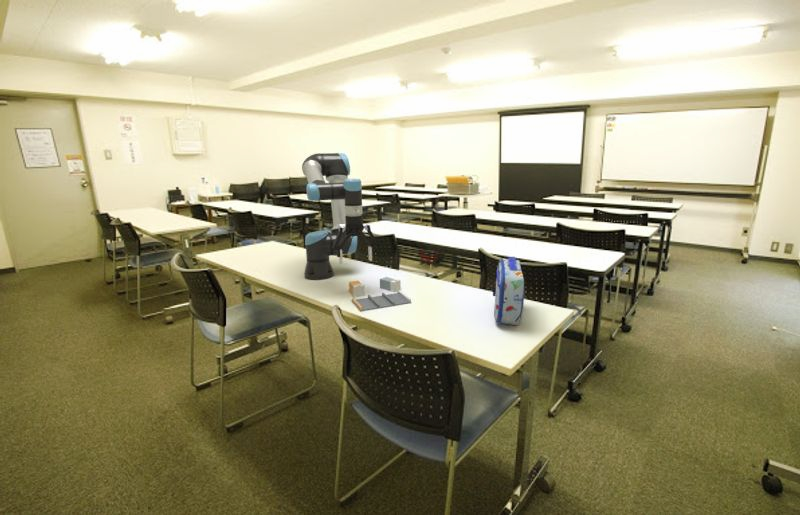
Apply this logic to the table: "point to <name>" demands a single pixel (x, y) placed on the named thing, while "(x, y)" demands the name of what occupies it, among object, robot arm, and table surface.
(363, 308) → the grey divided tray
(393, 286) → the grey block
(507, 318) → the lunch box
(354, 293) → the orange and white block
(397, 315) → the table surface
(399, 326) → the table surface
